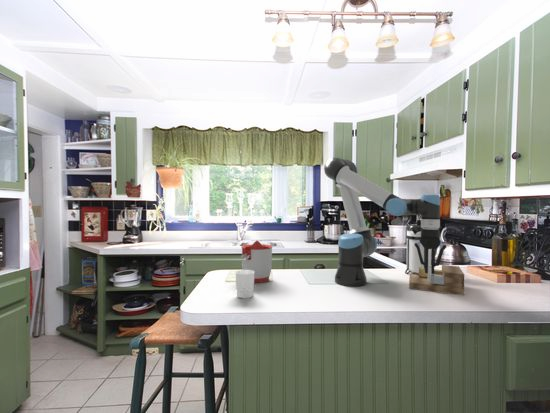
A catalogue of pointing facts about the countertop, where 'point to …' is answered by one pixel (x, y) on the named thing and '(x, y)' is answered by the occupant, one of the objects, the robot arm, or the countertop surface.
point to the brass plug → (423, 274)
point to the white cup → (245, 283)
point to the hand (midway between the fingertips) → (429, 280)
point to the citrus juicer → (257, 260)
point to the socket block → (452, 284)
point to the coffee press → (412, 253)
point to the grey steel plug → (437, 279)
